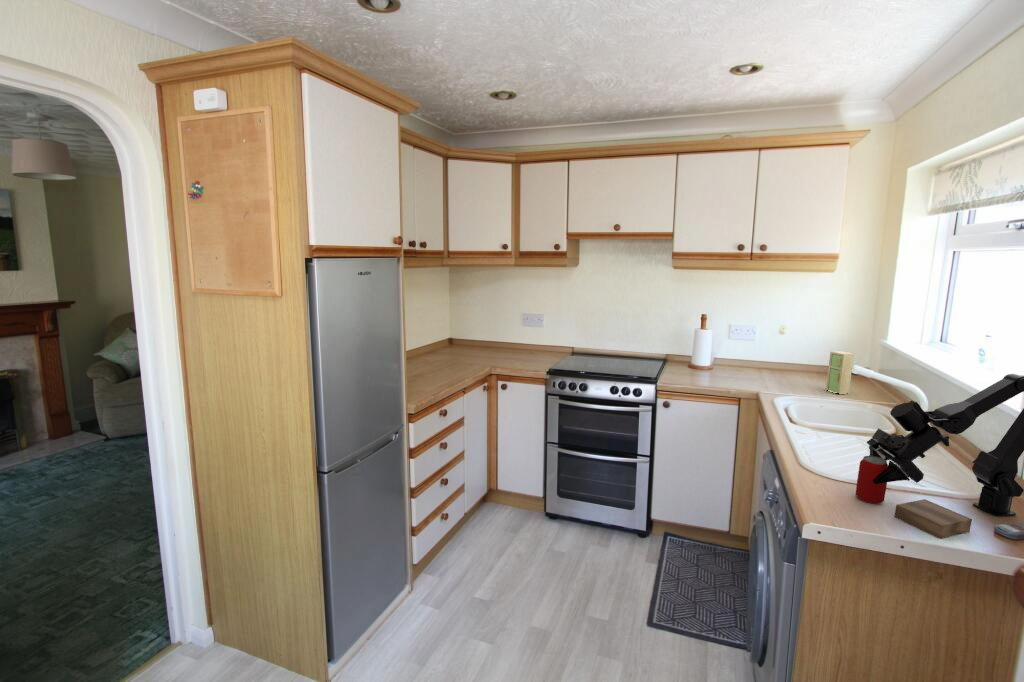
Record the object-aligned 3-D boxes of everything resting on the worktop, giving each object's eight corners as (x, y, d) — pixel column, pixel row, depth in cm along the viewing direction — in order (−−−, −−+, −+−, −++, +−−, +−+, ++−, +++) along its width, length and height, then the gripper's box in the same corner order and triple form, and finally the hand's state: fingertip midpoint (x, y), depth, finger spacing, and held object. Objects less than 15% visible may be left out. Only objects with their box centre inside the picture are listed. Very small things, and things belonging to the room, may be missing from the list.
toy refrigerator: (824, 391, 266) (829, 351, 262) (834, 390, 268) (840, 350, 265) (837, 395, 258) (843, 354, 255) (848, 394, 261) (854, 353, 257)
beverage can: (885, 499, 146) (891, 459, 144) (882, 507, 141) (888, 466, 139) (857, 491, 150) (862, 452, 148) (852, 499, 145) (858, 459, 143)
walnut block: (922, 511, 139) (924, 499, 139) (969, 532, 129) (972, 519, 129) (894, 517, 136) (896, 504, 135) (940, 538, 126) (942, 525, 125)
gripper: (878, 411, 150) (832, 444, 154) (917, 432, 132) (864, 469, 135) (904, 439, 150) (857, 471, 154) (946, 464, 132) (893, 500, 135)
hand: (867, 477), depth 144 cm, fingers closed on beverage can, 7 cm apart
